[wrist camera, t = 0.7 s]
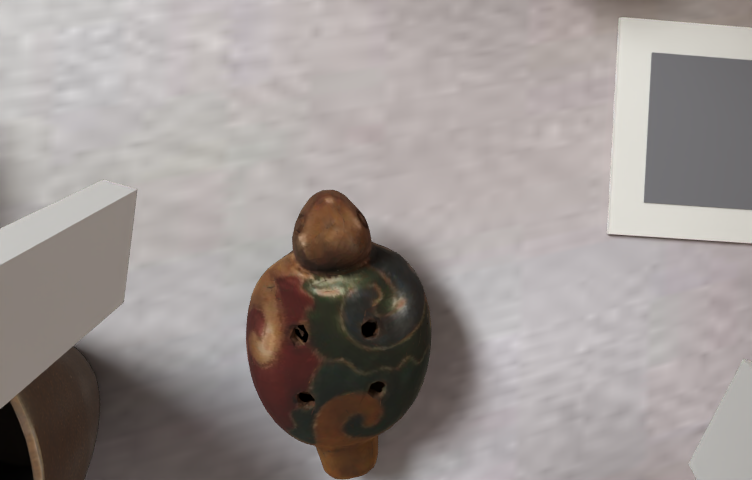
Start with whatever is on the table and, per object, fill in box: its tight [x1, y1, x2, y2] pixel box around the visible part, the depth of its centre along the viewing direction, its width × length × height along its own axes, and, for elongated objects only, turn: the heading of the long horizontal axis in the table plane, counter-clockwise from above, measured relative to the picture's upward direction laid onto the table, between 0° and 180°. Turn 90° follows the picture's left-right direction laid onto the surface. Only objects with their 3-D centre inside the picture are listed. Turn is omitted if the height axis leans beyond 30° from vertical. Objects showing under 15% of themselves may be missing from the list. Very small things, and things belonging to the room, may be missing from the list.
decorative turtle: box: [246, 190, 431, 479], centre depth 35 cm, size 10×15×8 cm, turn 10°
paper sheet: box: [607, 17, 752, 243], centre depth 39 cm, size 13×13×1 cm
